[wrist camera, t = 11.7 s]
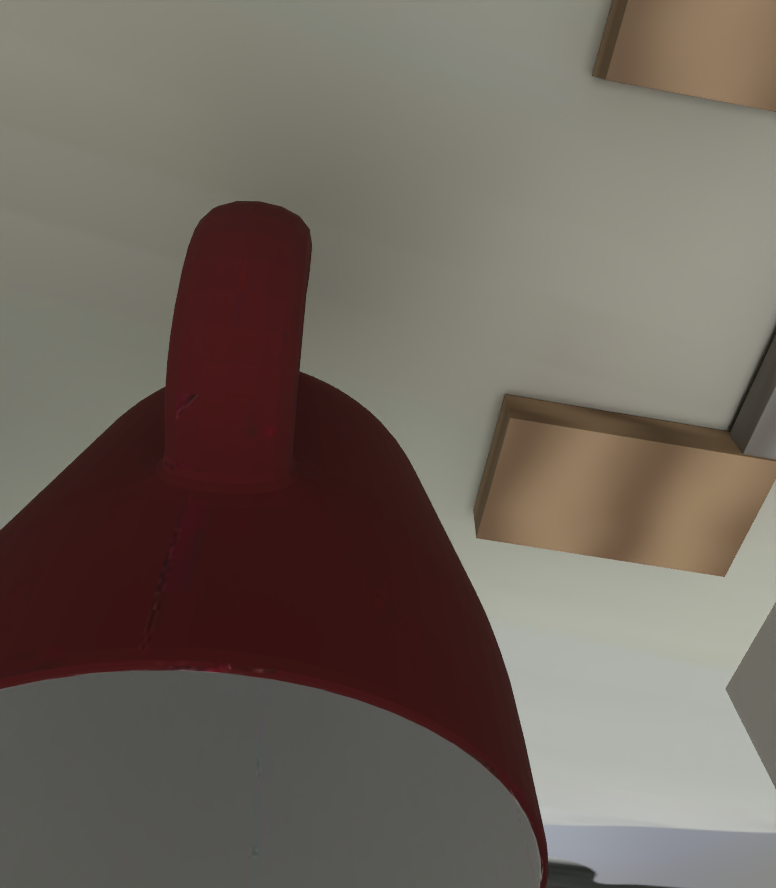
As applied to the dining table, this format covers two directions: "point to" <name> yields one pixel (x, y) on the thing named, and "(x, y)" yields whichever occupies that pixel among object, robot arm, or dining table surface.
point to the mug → (251, 631)
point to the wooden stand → (631, 437)
